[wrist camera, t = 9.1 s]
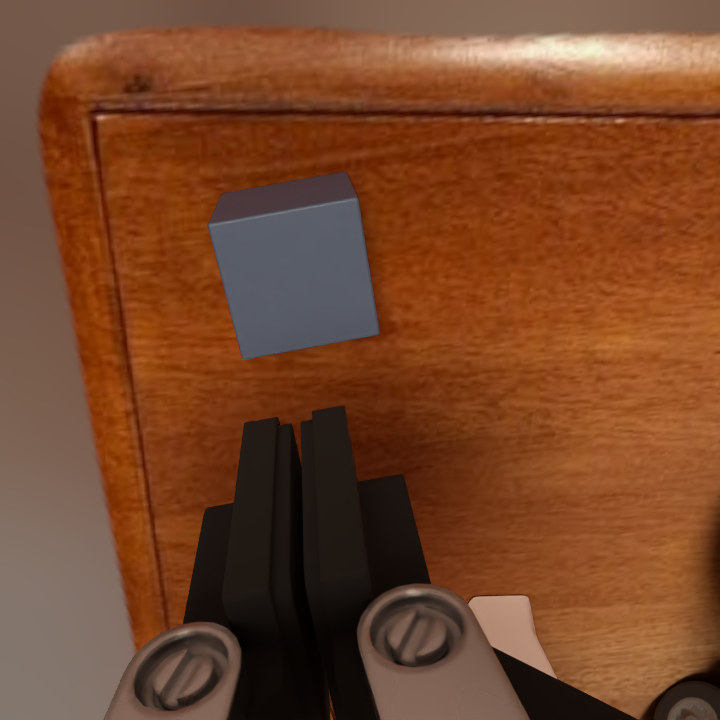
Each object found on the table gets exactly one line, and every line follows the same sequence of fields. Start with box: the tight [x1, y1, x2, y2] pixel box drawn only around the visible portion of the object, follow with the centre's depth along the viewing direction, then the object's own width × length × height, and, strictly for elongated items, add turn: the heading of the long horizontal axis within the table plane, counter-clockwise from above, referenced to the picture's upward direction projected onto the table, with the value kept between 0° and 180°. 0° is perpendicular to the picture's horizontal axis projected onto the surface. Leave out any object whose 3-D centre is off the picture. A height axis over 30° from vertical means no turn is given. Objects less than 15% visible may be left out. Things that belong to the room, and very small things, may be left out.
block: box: [208, 172, 380, 360], centre depth 20 cm, size 4×4×4 cm
